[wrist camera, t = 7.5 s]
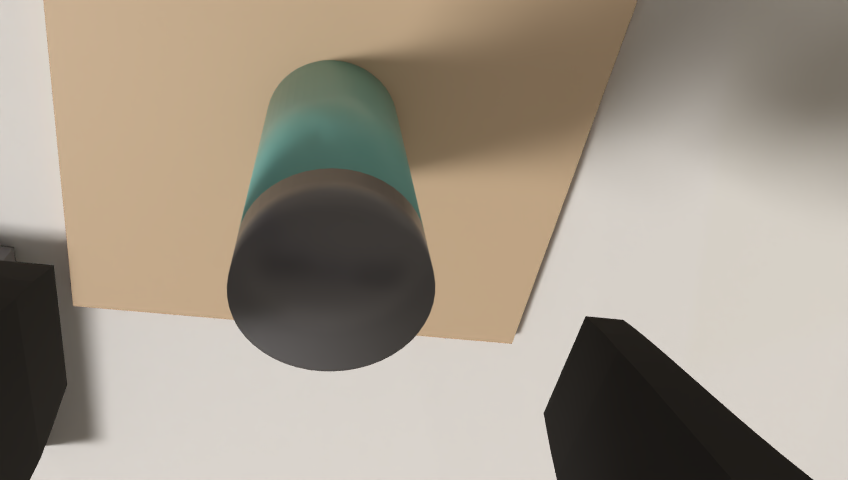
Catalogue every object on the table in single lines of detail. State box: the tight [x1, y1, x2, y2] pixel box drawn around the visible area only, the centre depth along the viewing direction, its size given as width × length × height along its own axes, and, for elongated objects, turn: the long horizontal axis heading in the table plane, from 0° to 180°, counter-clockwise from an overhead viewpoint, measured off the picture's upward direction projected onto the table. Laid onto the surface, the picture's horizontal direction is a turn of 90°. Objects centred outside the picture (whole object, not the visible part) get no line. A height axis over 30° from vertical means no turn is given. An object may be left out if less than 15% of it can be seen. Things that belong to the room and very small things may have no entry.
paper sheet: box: [43, 0, 638, 344], centre depth 16 cm, size 13×13×1 cm
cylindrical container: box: [227, 60, 435, 371], centre depth 13 cm, size 3×3×7 cm
